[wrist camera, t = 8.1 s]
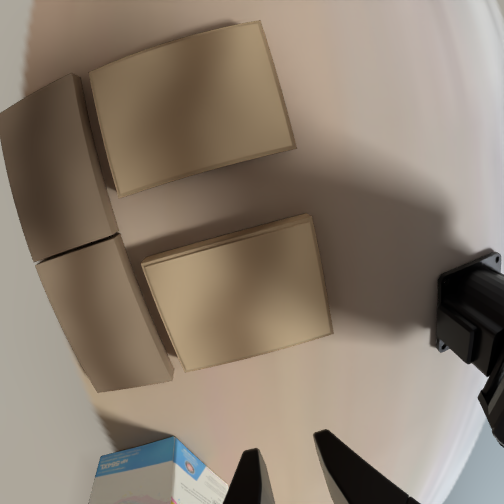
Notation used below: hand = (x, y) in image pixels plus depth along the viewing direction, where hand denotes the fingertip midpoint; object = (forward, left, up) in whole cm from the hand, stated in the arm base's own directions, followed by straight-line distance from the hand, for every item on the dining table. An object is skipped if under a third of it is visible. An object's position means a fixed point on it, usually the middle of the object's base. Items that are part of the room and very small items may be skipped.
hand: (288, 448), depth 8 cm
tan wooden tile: (+9, -5, -11) cm, 15 cm away
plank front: (0, -11, -11) cm, 15 cm away
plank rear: (0, 0, -11) cm, 11 cm away
